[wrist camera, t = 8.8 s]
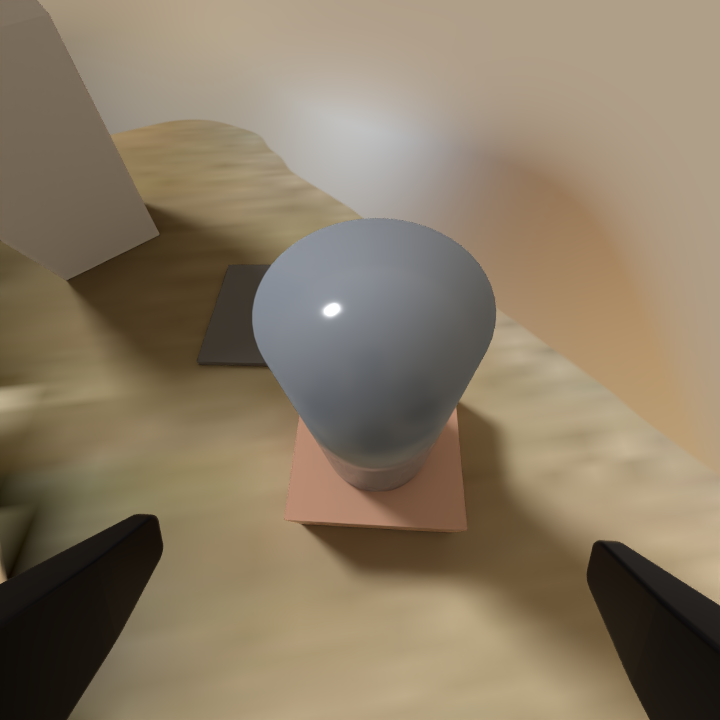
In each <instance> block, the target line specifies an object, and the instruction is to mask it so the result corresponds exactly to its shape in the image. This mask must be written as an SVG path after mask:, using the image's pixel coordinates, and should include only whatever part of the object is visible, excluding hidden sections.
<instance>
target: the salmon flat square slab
mask: <svg viewBox="0 0 720 720" xmlns="http://www.w3.org/2000/svg"><path fill="white" fill-rule="evenodd" d="M284 520H287V521H291V522H295V523H299V524H313V525H330V526H347V527H364V528H381V529H398V530H415V531H432V532H449V533H453V532H460V531H467V521H466V510H465V498H464V487H463V476H462V465H461V454H460V443H459V432H458V421H457V410H456V407H455V409H454V411H453V413H452V415H451V416H450V418H449V420H448V422H447V424H446V425H445V427H444V429H443V431H442V433H441V435H440V436H439V438H438V440H437V442H436V444H435V445H434V447H433V449H432V451H431V453H430V454H429V456H428V458H427V460H426V462H425V463H424V465H423V467H422V468H421V470H420V471H419V472H418V474H417V475H416V476H415V477H414V478H413V479H412V480H411V481H409V482H408V483H406V484H405V485H403V486H401V487H399V488H396V489H393V490H390V491H384V492H372V491H366V490H362V489H359V488H357V487H354V486H352V485H351V484H349V483H347V482H346V481H345V480H343V479H342V478H341V477H340V476H339V475H338V474H337V473H336V471H335V470H334V469H333V467H332V466H331V464H330V463H329V461H328V459H327V458H326V456H325V455H324V453H323V452H322V450H321V448H320V447H319V445H318V444H317V442H316V441H315V439H314V437H313V436H312V434H311V433H310V431H309V430H308V428H307V426H306V425H305V423H304V422H303V420H302V419H301V417H300V416H299V422H298V429H297V436H296V443H295V449H294V456H293V463H292V469H291V476H290V483H289V490H288V496H287V503H286V510H285V517H284Z"/></svg>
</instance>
